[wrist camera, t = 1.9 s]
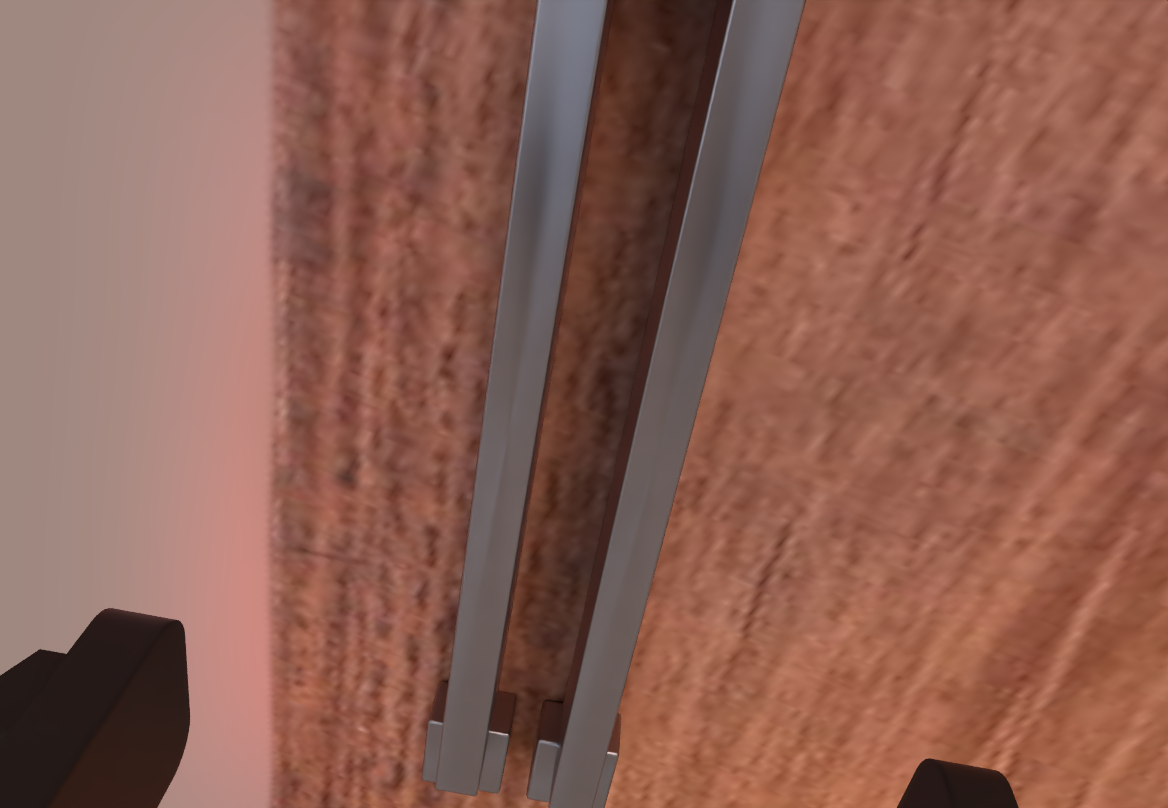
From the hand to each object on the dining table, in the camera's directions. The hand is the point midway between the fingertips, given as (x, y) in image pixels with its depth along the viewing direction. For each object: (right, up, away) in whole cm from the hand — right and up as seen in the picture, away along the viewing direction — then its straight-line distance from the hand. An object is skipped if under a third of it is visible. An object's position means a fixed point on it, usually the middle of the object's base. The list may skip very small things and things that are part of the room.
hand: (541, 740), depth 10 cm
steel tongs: (+1, +4, +7) cm, 8 cm away
